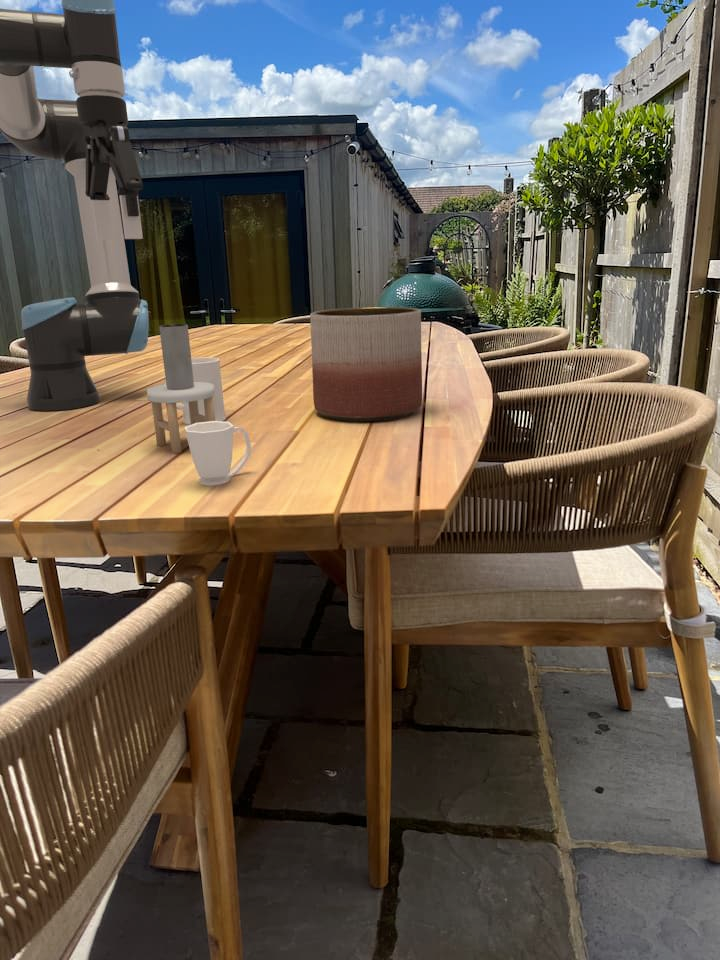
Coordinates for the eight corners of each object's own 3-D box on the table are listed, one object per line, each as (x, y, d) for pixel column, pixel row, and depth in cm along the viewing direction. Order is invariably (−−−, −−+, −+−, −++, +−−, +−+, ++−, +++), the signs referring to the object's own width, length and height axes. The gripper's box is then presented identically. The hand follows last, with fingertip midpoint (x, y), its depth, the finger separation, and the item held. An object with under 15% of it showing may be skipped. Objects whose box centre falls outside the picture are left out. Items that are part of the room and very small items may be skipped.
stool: (144, 444, 119) (137, 387, 116) (203, 433, 125) (197, 379, 122) (169, 457, 111) (161, 396, 107) (230, 445, 117) (224, 387, 114)
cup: (180, 481, 98) (173, 427, 95) (238, 466, 105) (233, 414, 102) (206, 492, 93) (200, 435, 91) (265, 475, 100) (261, 421, 97)
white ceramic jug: (172, 430, 129) (165, 366, 125) (161, 421, 136) (154, 361, 132) (232, 421, 134) (226, 360, 131) (218, 413, 141) (212, 355, 138)
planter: (363, 429, 124) (360, 317, 118) (292, 412, 140) (286, 313, 134) (444, 410, 138) (445, 308, 132) (371, 396, 154) (369, 305, 148)
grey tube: (171, 385, 117) (164, 324, 114) (197, 384, 117) (190, 323, 114) (163, 390, 113) (155, 327, 110) (190, 389, 113) (183, 326, 109)
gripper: (53, 107, 115) (73, 240, 122) (103, 80, 97) (123, 238, 104) (98, 111, 119) (115, 239, 127) (154, 86, 101) (170, 238, 108)
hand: (119, 239), depth 115 cm, fingers open, 13 cm apart
